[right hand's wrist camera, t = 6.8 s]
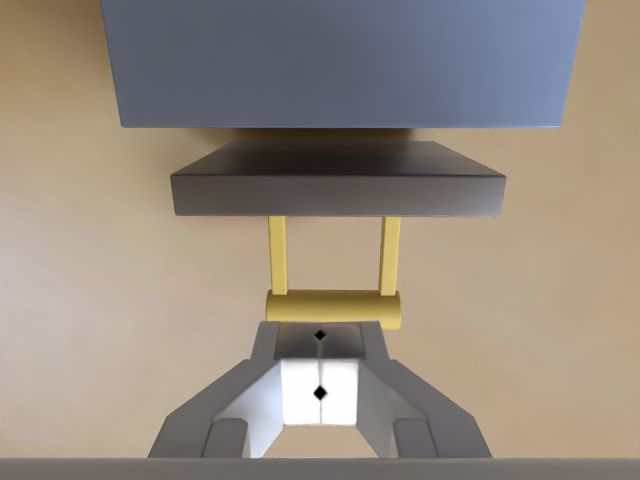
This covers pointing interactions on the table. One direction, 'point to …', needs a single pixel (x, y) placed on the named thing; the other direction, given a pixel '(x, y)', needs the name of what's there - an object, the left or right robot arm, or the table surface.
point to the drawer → (337, 205)
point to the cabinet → (342, 62)
